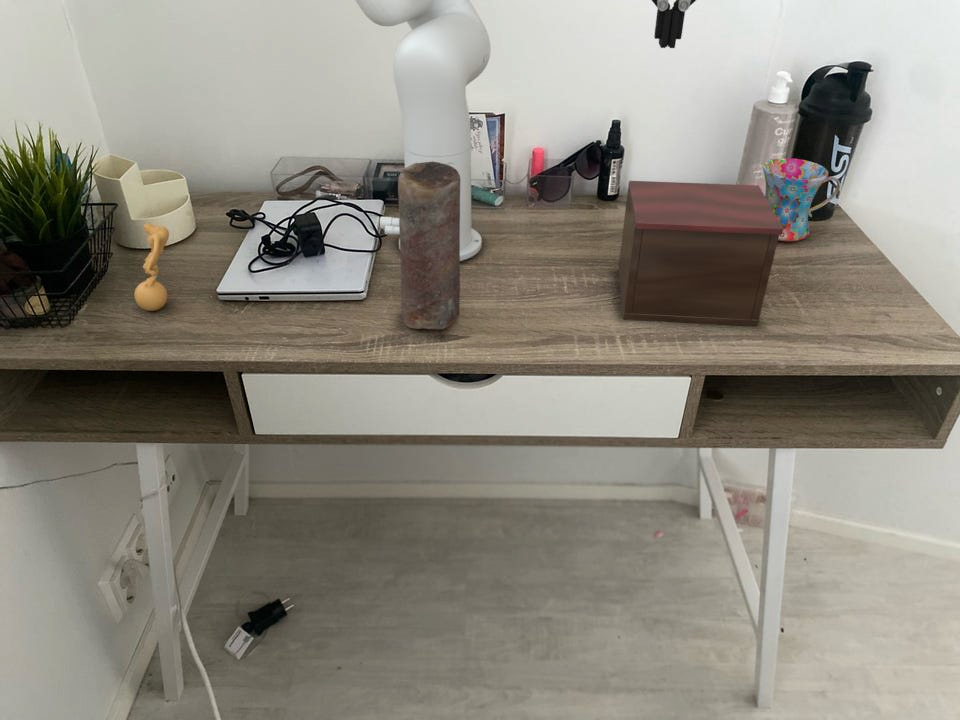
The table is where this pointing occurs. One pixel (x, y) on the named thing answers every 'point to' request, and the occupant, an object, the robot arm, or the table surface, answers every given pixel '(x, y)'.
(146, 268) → the figurine
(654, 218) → the lid
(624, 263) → the brown wooden box
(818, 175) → the mug
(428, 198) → the candle
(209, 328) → the table surface
